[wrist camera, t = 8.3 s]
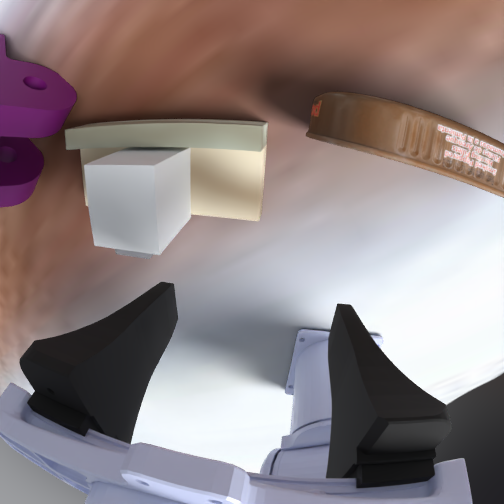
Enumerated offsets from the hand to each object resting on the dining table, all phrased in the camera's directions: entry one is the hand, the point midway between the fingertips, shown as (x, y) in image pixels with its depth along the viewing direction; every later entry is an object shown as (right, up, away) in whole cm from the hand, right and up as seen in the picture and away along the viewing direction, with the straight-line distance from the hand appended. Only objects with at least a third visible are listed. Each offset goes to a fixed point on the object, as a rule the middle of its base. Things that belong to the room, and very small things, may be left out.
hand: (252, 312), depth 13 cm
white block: (-6, +7, +7) cm, 12 cm away
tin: (+11, +10, +5) cm, 16 cm away
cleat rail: (-6, +8, +8) cm, 13 cm away
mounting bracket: (-22, +18, +7) cm, 29 cm away
